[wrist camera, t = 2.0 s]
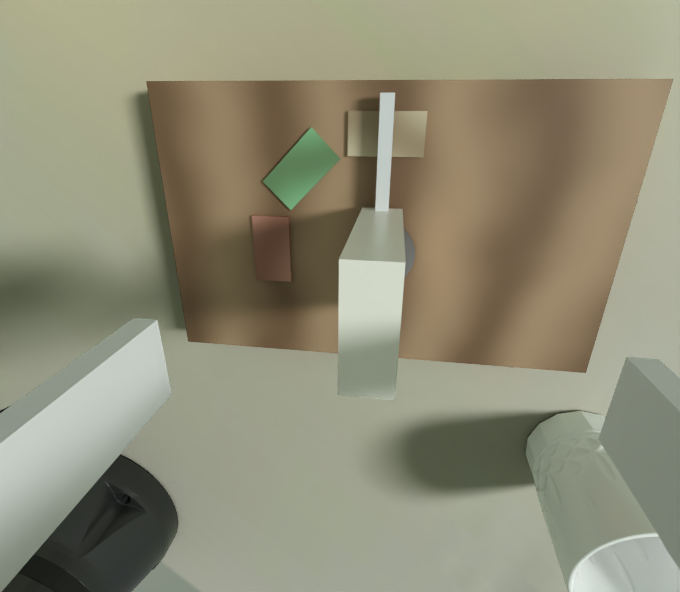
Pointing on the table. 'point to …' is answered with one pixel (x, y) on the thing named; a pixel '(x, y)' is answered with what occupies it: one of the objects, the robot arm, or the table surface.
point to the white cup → (594, 512)
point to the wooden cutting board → (406, 207)
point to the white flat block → (373, 285)
